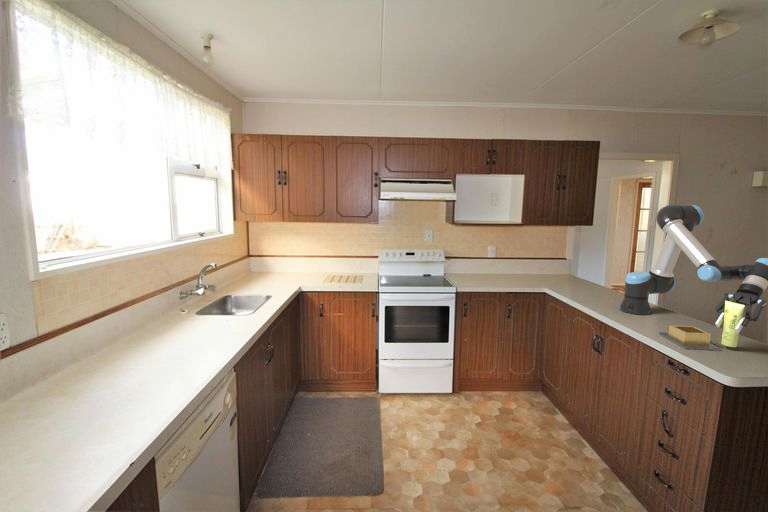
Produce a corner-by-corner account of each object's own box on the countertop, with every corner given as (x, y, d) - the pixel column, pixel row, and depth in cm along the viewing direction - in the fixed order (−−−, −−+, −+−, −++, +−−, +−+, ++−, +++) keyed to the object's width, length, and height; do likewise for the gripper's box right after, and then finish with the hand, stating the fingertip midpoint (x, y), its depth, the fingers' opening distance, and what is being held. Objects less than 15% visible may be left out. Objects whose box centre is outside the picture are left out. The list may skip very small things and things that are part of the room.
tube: (719, 345, 153) (726, 302, 150) (718, 341, 157) (725, 300, 154) (737, 348, 150) (745, 305, 147) (736, 344, 154) (743, 302, 150)
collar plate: (658, 334, 171) (660, 322, 170) (690, 335, 169) (691, 323, 168) (685, 349, 153) (687, 336, 152) (720, 350, 151) (722, 337, 151)
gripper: (784, 298, 147) (758, 341, 143) (727, 288, 164) (702, 325, 161) (780, 287, 144) (754, 330, 141) (722, 278, 162) (697, 316, 158)
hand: (726, 328), depth 151 cm, fingers closed on tube, 6 cm apart
